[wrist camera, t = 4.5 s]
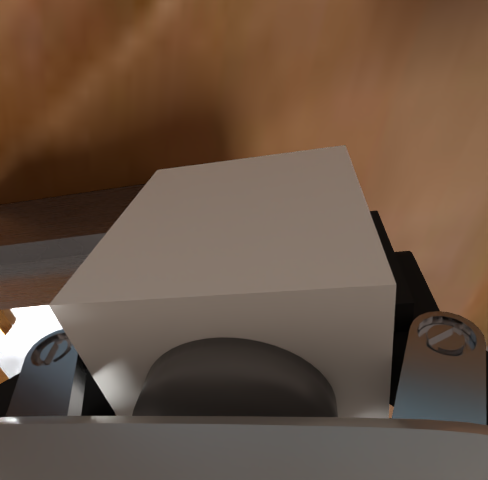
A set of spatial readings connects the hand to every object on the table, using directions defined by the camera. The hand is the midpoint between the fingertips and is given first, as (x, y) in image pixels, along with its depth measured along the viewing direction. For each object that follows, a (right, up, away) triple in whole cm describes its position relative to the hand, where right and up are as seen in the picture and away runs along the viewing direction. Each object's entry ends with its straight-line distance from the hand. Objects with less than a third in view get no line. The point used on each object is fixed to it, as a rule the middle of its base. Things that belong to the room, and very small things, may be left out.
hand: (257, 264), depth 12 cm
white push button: (0, +1, +1) cm, 2 cm away
